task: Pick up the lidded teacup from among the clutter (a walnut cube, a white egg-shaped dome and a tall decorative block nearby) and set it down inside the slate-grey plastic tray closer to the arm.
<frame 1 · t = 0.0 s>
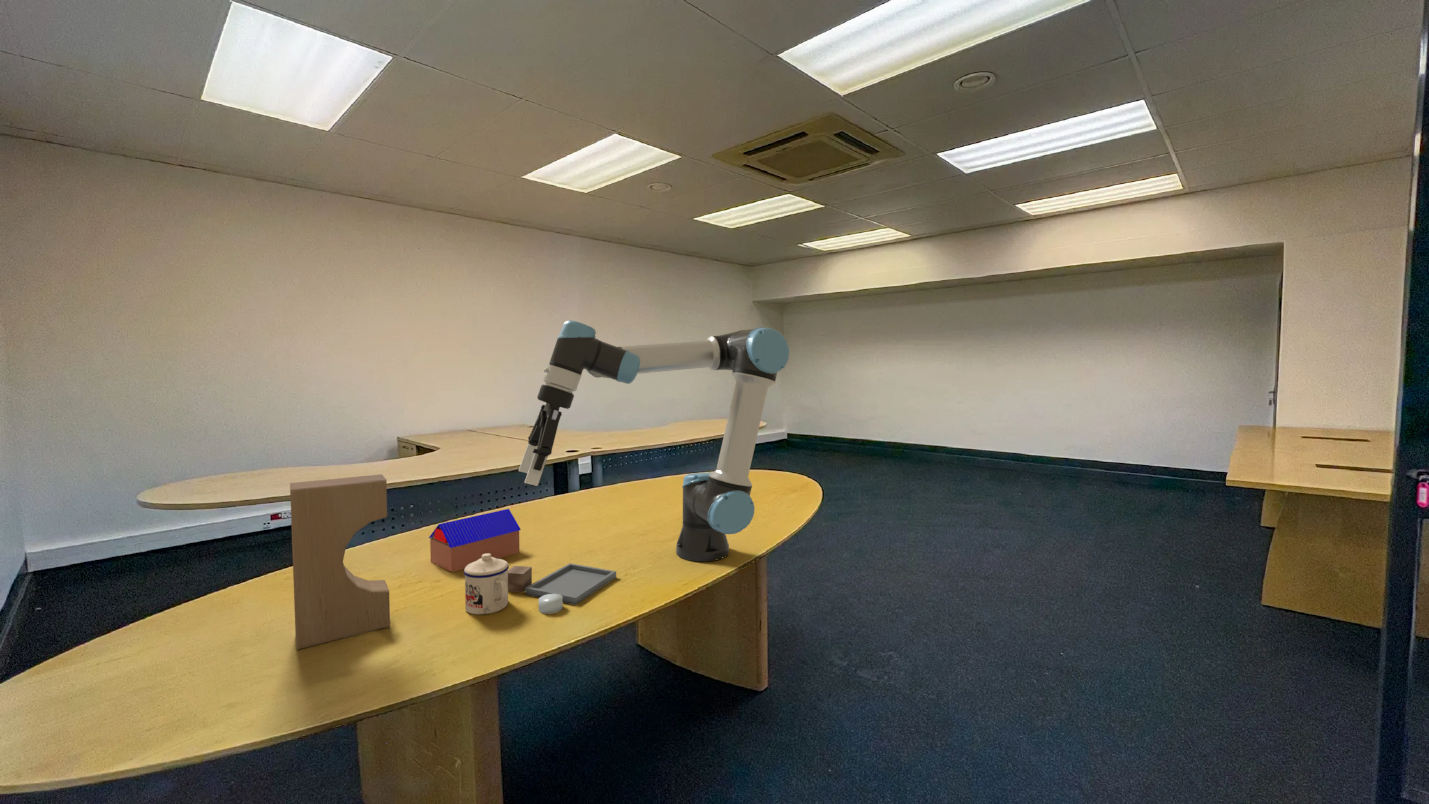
hand: (527, 478, 120), 28 cm above the table, tool tilted 20°, fingers open, 13 cm apart
white egg-shaped dome: (550, 609, 118), on the table
teacup with lid: (490, 609, 117), on the table
tray: (572, 585, 130), on the table
house: (476, 558, 149), on the table
decorative block: (343, 632, 107), on the table
walnut cube: (518, 588, 128), on the table
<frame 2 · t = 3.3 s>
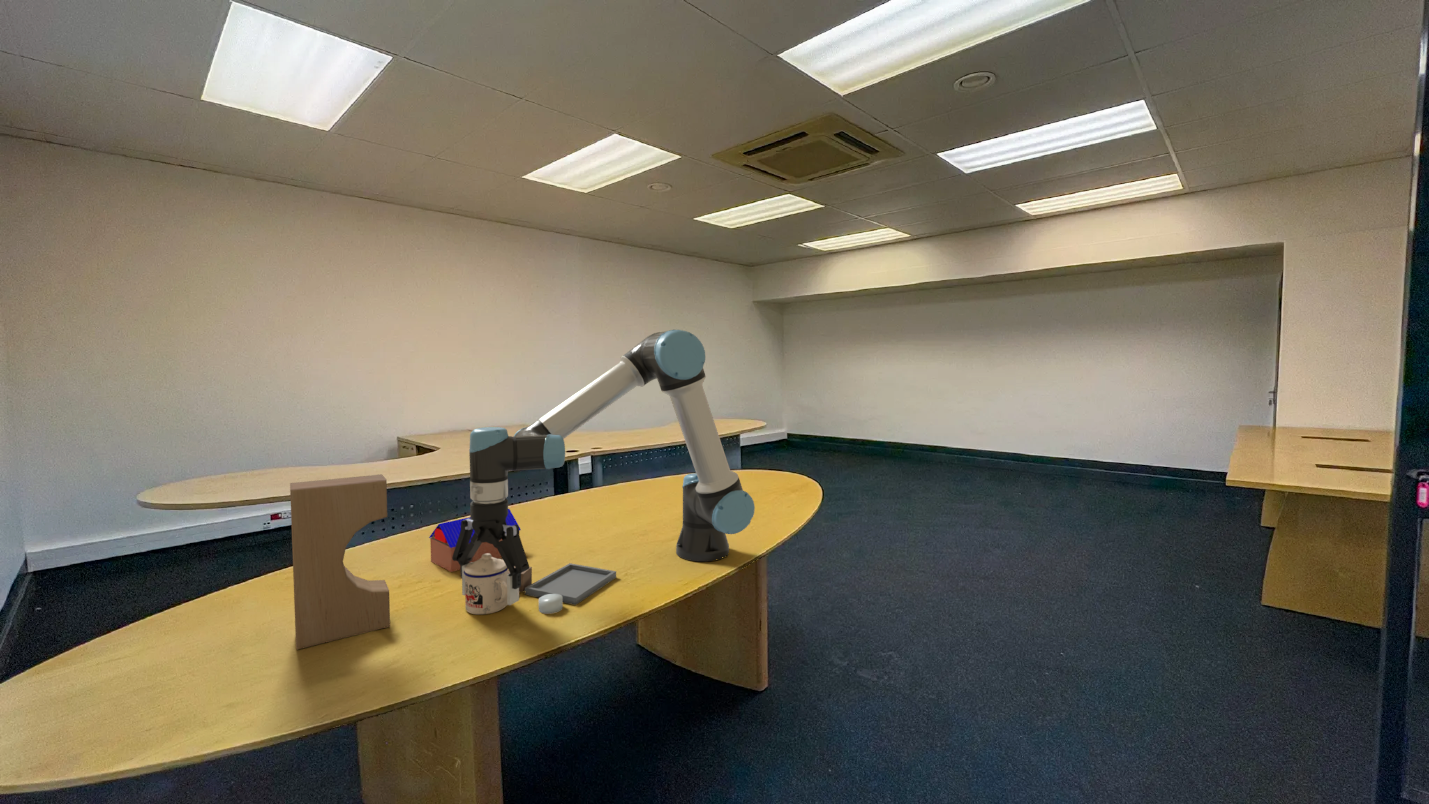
hand: (490, 597, 117), 2 cm above the table, tool pointing down, fingers closed on teacup with lid, 12 cm apart
teacup with lid: (490, 609, 117), on the table, touching gripper
everything else where it was.
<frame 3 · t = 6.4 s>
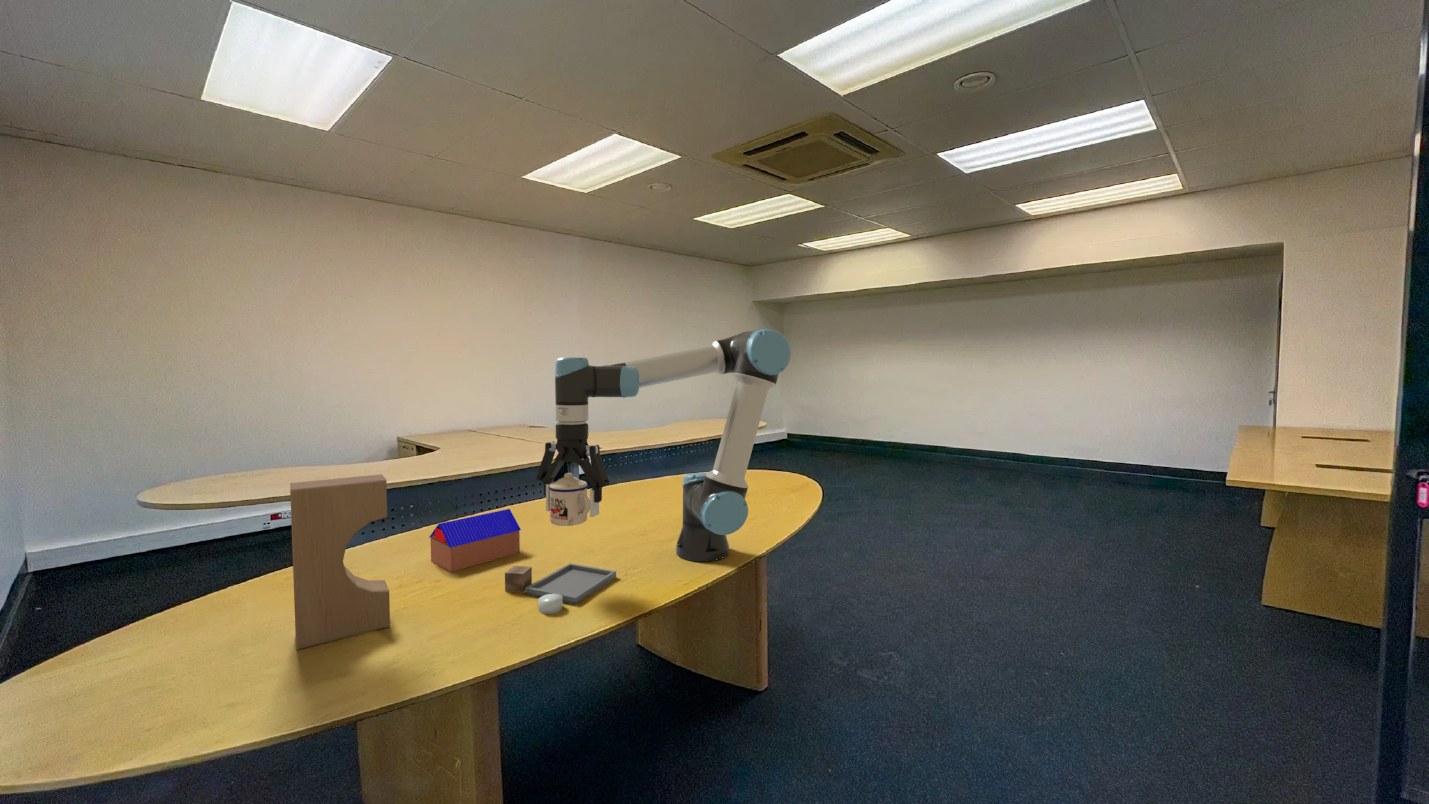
hand: (572, 512, 129), 18 cm above the table, tool pointing down, fingers closed on teacup with lid, 12 cm apart
teacup with lid: (572, 523, 129), point 15 cm above the table, touching gripper
everything else where it was.
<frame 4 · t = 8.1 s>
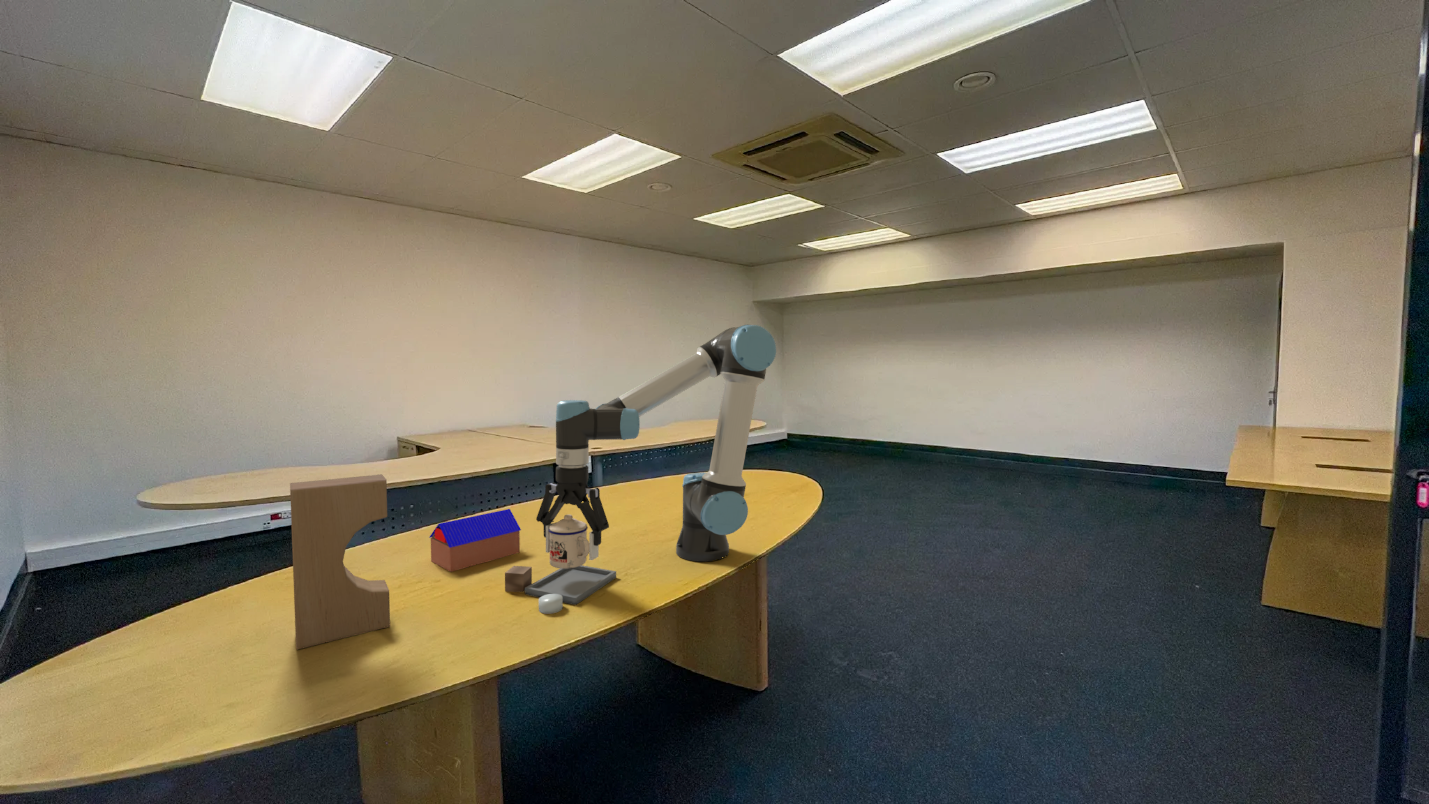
hand: (571, 554, 130), 8 cm above the table, tool pointing down, fingers closed on teacup with lid, 12 cm apart
teacup with lid: (572, 564, 130), point 5 cm above the table, touching gripper
everything else where it was.
when the fingers open (4 cm above the table, at t = 9.5 s): teacup with lid drops 1 cm, resting on tray.
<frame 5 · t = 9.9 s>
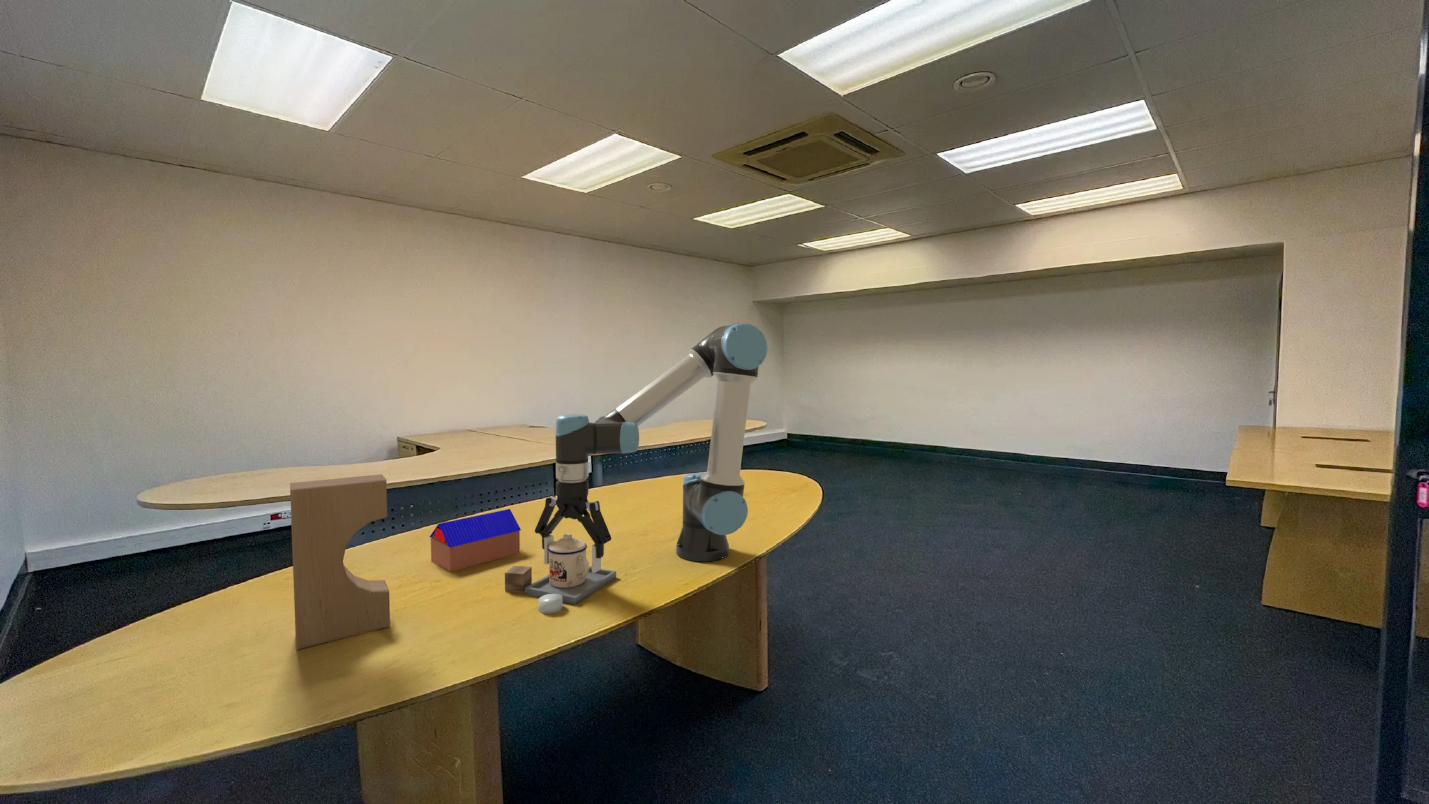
hand: (572, 566, 130), 5 cm above the table, tool pointing down, fingers open, 13 cm apart
teacup with lid: (571, 583, 130), resting on tray
everything else where it was.
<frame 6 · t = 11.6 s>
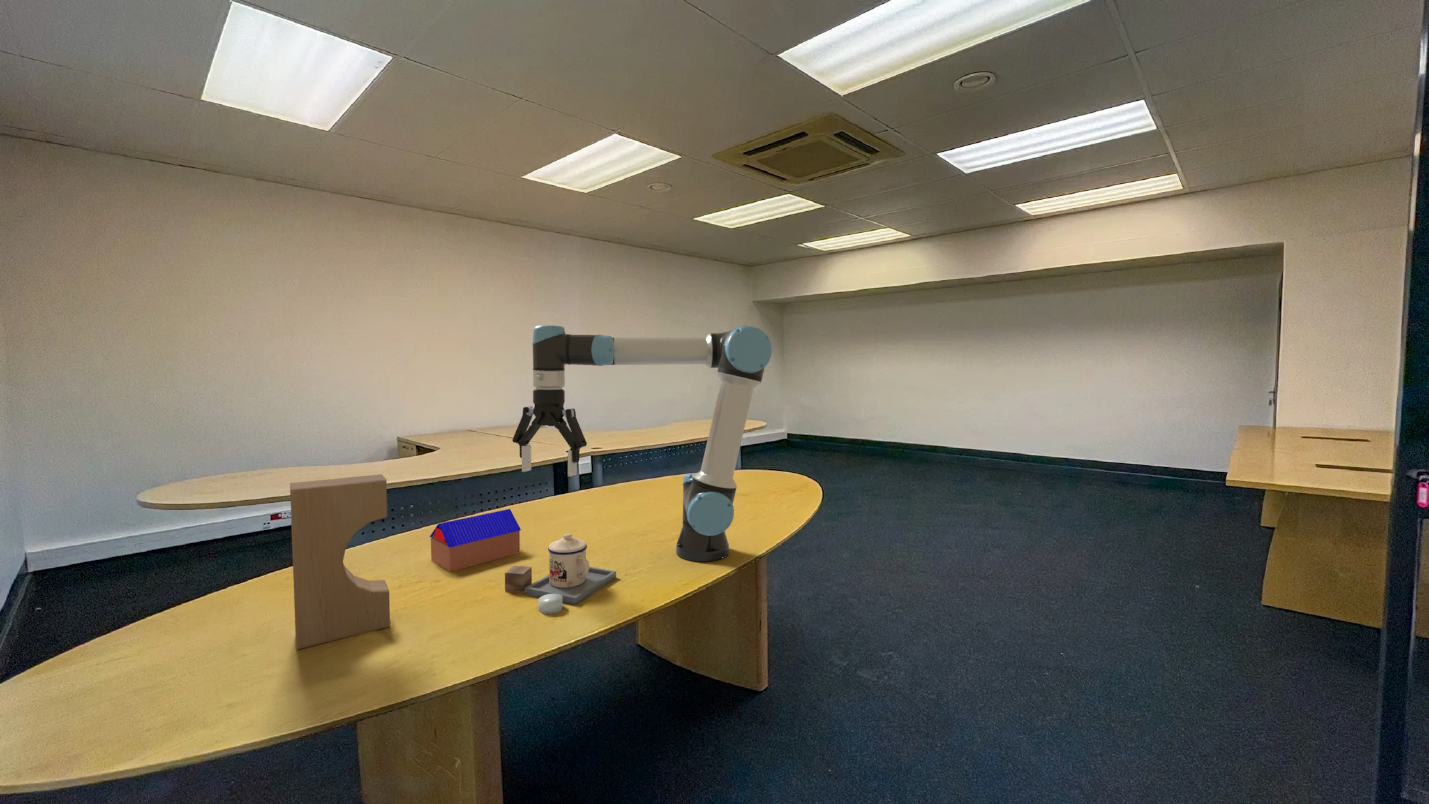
hand: (549, 473, 135), 26 cm above the table, tool pointing down, fingers open, 13 cm apart
nothing on the table moved.
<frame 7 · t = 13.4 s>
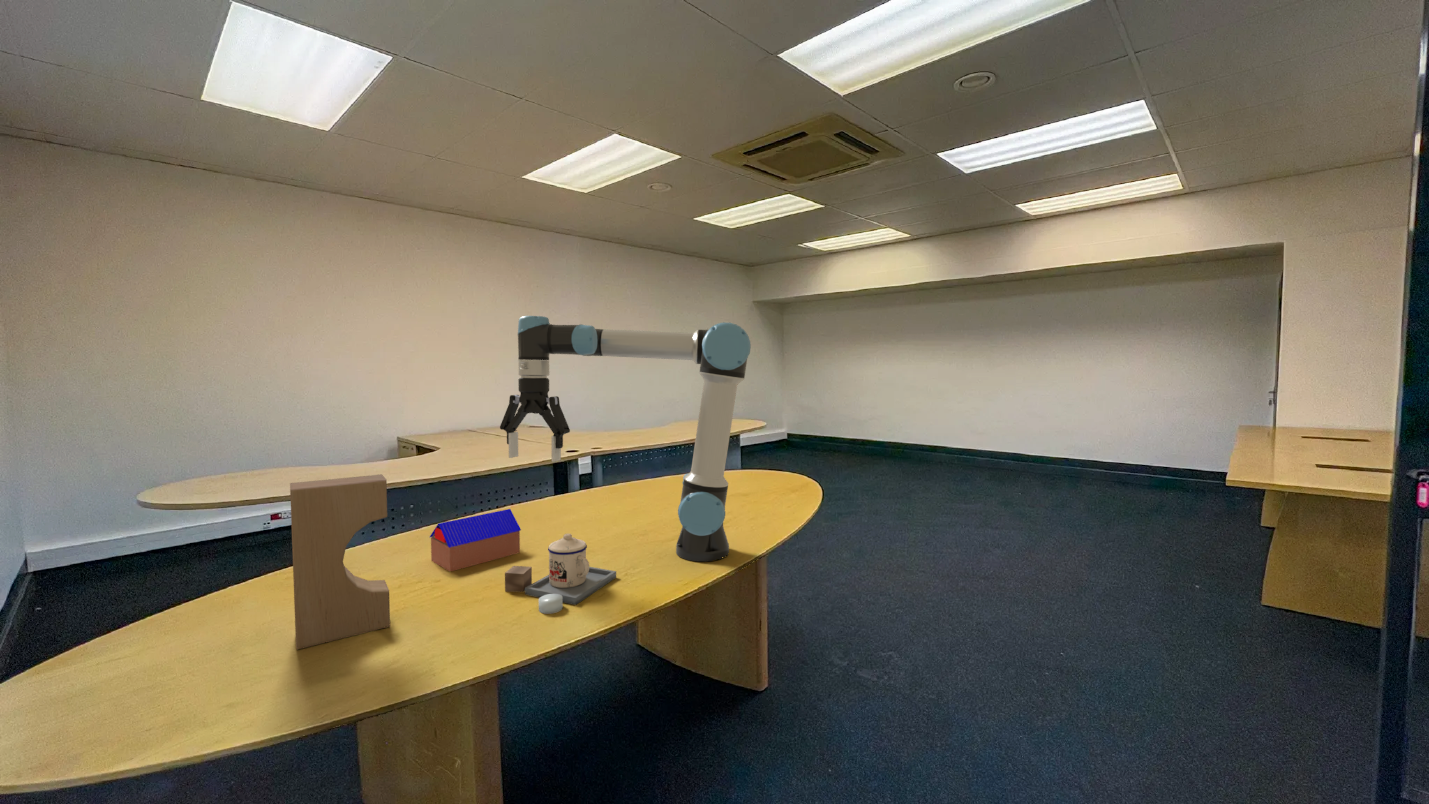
hand: (534, 459, 139), 29 cm above the table, tool pointing down, fingers open, 13 cm apart
nothing on the table moved.
at the end: teacup with lid inside the target area on the tray (0.3 cm from its centre), point 0.4 cm above the tray's base; teacup with lid tilted 0°; the gripper is holding nothing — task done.
